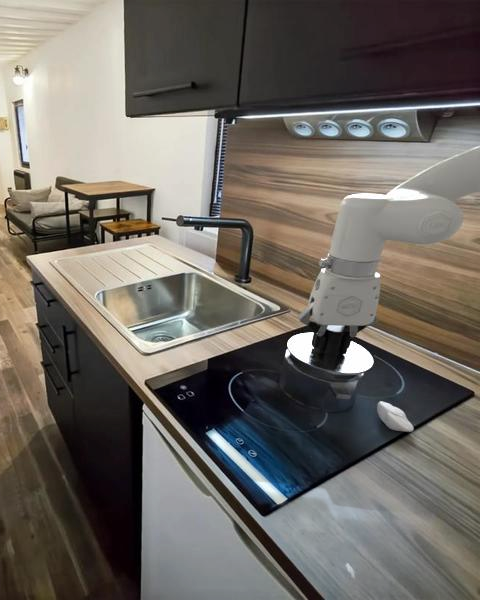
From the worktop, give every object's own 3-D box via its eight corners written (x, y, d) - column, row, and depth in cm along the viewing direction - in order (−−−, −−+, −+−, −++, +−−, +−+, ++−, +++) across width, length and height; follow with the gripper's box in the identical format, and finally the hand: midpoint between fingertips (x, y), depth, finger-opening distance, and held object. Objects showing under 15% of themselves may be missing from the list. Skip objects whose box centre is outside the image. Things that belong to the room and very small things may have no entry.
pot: (329, 365, 86) (337, 338, 82) (374, 425, 69) (386, 394, 65) (267, 362, 88) (273, 336, 85) (296, 419, 71) (304, 389, 68)
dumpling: (364, 413, 72) (372, 395, 71) (392, 419, 72) (400, 401, 70) (388, 435, 65) (397, 416, 64) (419, 441, 65) (428, 422, 64)
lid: (349, 338, 79) (357, 311, 77) (388, 380, 67) (399, 349, 64) (277, 336, 82) (282, 310, 79) (301, 376, 69) (308, 346, 66)
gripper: (309, 272, 64) (290, 359, 72) (417, 272, 61) (385, 362, 69) (293, 258, 71) (278, 339, 79) (390, 257, 68) (364, 341, 76)
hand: (328, 349), depth 74 cm, fingers closed on lid, 3 cm apart
